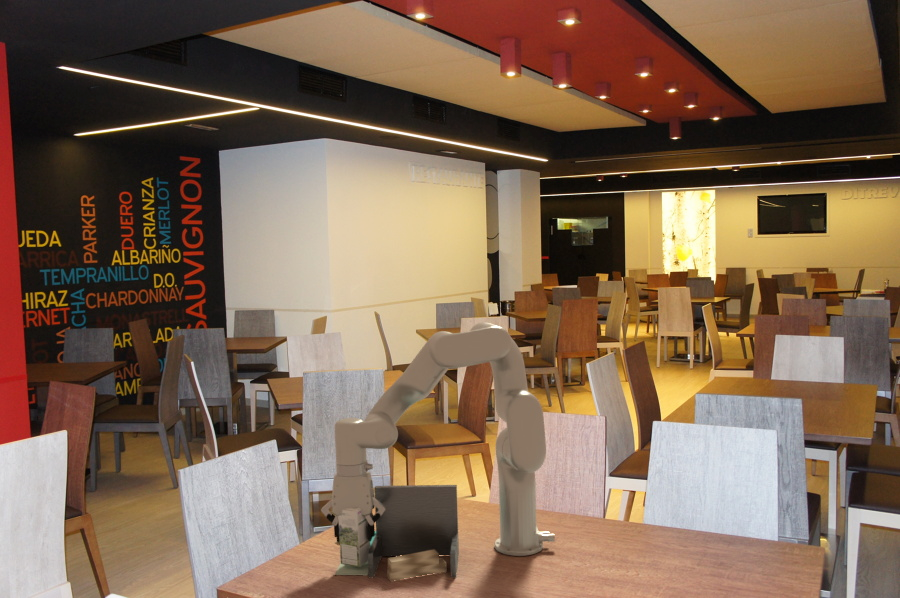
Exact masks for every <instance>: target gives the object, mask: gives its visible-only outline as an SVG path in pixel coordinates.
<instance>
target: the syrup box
mask: <svg viewBox="0 0 900 598" xmlns="http://www.w3.org/2000/svg"><path fill="white" fill-rule="evenodd" d="M338 519H339V539H340V542H339V553H340V557H339V558H340V563H341V564H344V565H350V566H356V567H361V566H362V565H364V564H365V563H366V562H368V552H369V549H370V541H368V535H367V525H368V521H367V519H366V518H365V516H362V515H361V509H360V508H350V509H344V510H342V513H341V515H339V516H338Z"/></svg>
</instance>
